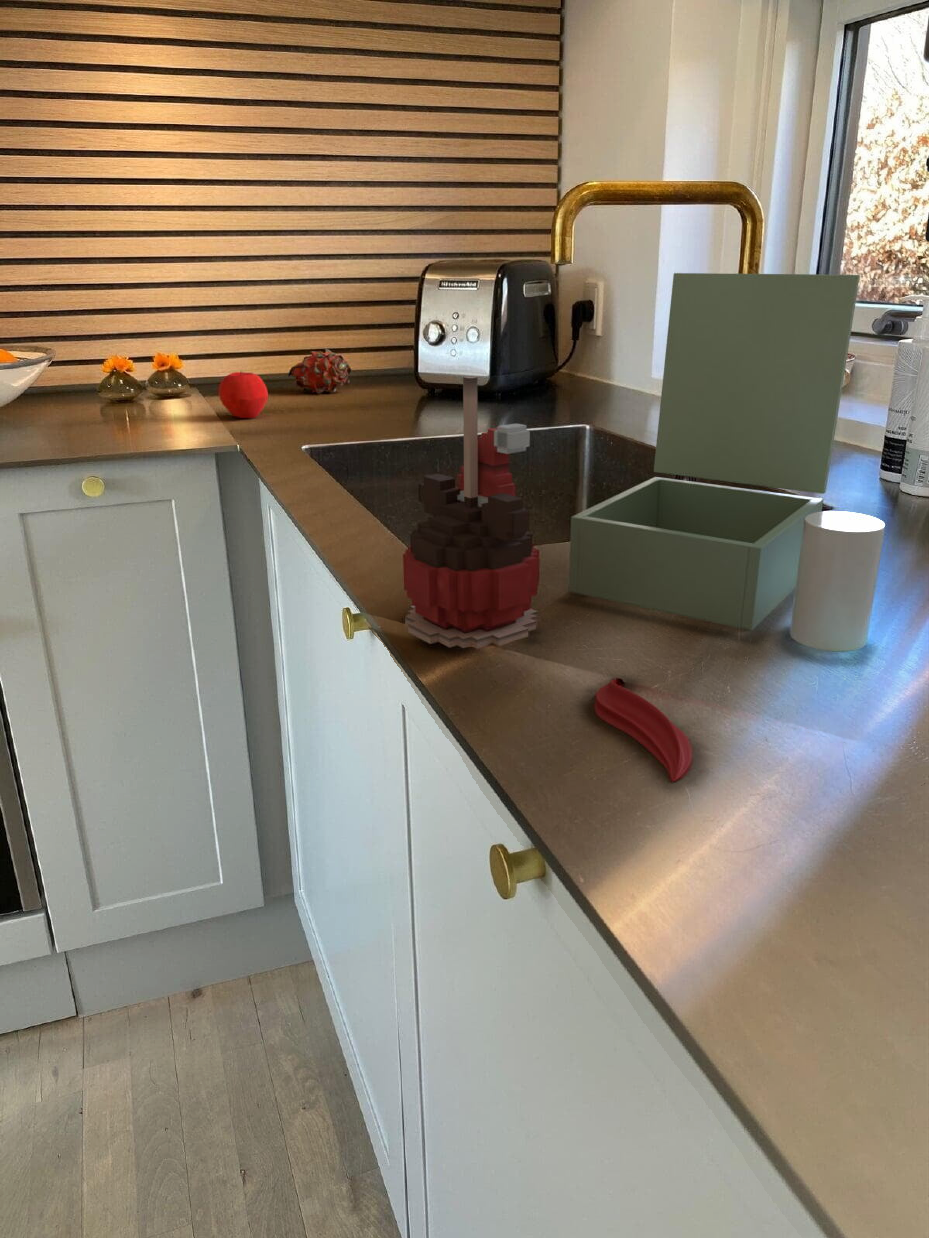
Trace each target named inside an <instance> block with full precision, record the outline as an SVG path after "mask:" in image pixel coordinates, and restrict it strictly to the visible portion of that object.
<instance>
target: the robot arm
mask: <svg viewBox="0 0 929 1238" xmlns="http://www.w3.org/2000/svg"><path fill="white" fill-rule="evenodd" d="M925 31H926V32H925V38H924V39H925V40H924V45H923V53H922V58H923V61H924V62H925V63H926V64H927V65H929V16H928V18H927V24H926V30H925ZM925 166H926V172H927V173H929V156H928V157H927V158H926V161H925ZM924 234H925V235H924V238H925V240H926V242H927V243H929V213H928V215H927V222H926V227H925V233H924Z"/></svg>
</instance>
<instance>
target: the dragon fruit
mask: <svg viewBox="0 0 929 1238" xmlns="http://www.w3.org/2000/svg"><path fill="white" fill-rule="evenodd" d="M324 351H325V352H323V351H321V350H319V351H317V350H315V351H313V350H311V351H310V352H309V353H310V355H307V356H305V357H303V360H302V361H301V362H298V363H297V364H295V365H293V366H292V367H291V368H290V370H289V371H288V374H287V377H288V378H290V377H293V378H295V379H296V380H295V381H294V384H295V386H296V387H298V388H299V389H302V391H304V392H309V393H316V394H318V395H321V394H322V393H323V392H324V391H327V392H328V393H331V394H335V393H336V392H337V391H338V389H337V387H338V385H339V386H341V387H345V386H348V384H350V382H351V381H350V379H349V378H348V377H349V375H350V374H351V372H352V369H351V367H350V366H349V363H348V362H347V361H346V360H345V359H344V357H343V356H342V355H340V354H336V353H335V352H333V351H331V350H330V349H326V348H325V349H324Z"/></svg>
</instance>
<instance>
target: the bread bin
mask: <svg viewBox="0 0 929 1238" xmlns="http://www.w3.org/2000/svg"><path fill="white" fill-rule="evenodd" d="M823 504H824V498H820V497H819V498H818V497H813V496H812V497H811V496H804V495H795V494H789V493H781V492H773V491H767V490H766V491H765V490H759V489H751V488H743V487H735V486H729V485H721V484H715V483H714V484H713V483H705V482H698V481H691V480H682V479H676V478H675V479H674V478H667V477H659V476H654V477H652V478H649V479H647V480H645V481H644V482H641V483H639V484H637V485H635V486H633V487H631V488H629V489H627V490H624V491H623V492H621V493H620V492H619V494H616V495H613V496H612V497H610V498H608V499H605V500H604V501H601V502H600V503H597V504H595V505H593V506H591V507H589V508H586V509H585V510H583V511H581V512H579V513H577V514H574V515H573V516H571V517H570V537H569V538H570V539H569V568H568V569H569V570H568V593H574V594H578V595H583V596H587V597H588V596H589V597H593V598H596V599H601V600H607V601H611V602H616V603H621V604H625V605H630V606H635V607H640V608H645V609H649V610H652V611H653V610H654V611H658V612H663V613H667V614H668V613H669V614H673V615H677V616H682V617H687V618H691V619H695V620H700V621H705V622H710V623H715V624H719V625H725V626H729V627H734V628H739V629H743V630H748V631H753V630H754V629H755V628H756V627H757V626H758V625H759V624H760V623H761V622H762V621H763V620H764V619H765V618H766V617H767V616H768V615H769V614H771V612H772V611H774V610H775V608H777V607H778V605H780V604H781V602H783V601H784V600H785V598H787V597H788V596H789V595H790V594H791V593H792V592H793V591H795V587H796V579H797V571H798V564H799V556H800V548H801V540H802V533H803V525H804V518H805V517H806V516H807V515H809V514H812V513H816V512H823V507H824V506H823Z"/></svg>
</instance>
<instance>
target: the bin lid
mask: <svg viewBox="0 0 929 1238" xmlns="http://www.w3.org/2000/svg"><path fill="white" fill-rule="evenodd" d="M860 279H861V275H859V274H815V273H814V274H813V273H812V274H811V273H807V274H806V273H803V274H802V273H714V272H713V273H712V272H711V273H708V272H707V273H704V272H703V273H701V272H699V273H698V272H673V277H672V286H671V296H670V307H669V315H668V327H667V335H666V337H667V338H666V344H665V345H666V346H665V347H666V348H665V354H664V355H665V357H664V366H663V374H662V384H661V394H660V403H659V404H660V405H659V413H658V414H659V415H658V424H657V435H656V443H655V454H654V464H653V473H659V474H665V475H666V474H668V475H672V476H673V475H674V476H681V477H682V476H683V477H689V478H696V479H703V480H704V479H705V480H712V481H721V482H729V483H736V484H743V485H744V484H745V485H750V486H751V485H752V486H760V487H765V488H766V487H767V488H775V489H782V490H783V489H784V490H789V491H790V490H791V491H798V492H806V493H814V494H821V495H823V494H826V492H827V487H828V480H829V474H830V467H831V461H832V455H833V449H834V443H835V436H836V430H837V423H838V417H839V409H840V404H841V398H842V392H843V386H844V385H843V384H844V380H845V379H844V378H845V373H846V367H847V366H846V365H847V360H848V354H849V347H850V340H851V333H852V327H853V323H854V322H853V321H854V316H855V309H856V302H857V297H858V291H859V285H860V284H859V283H860Z"/></svg>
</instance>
